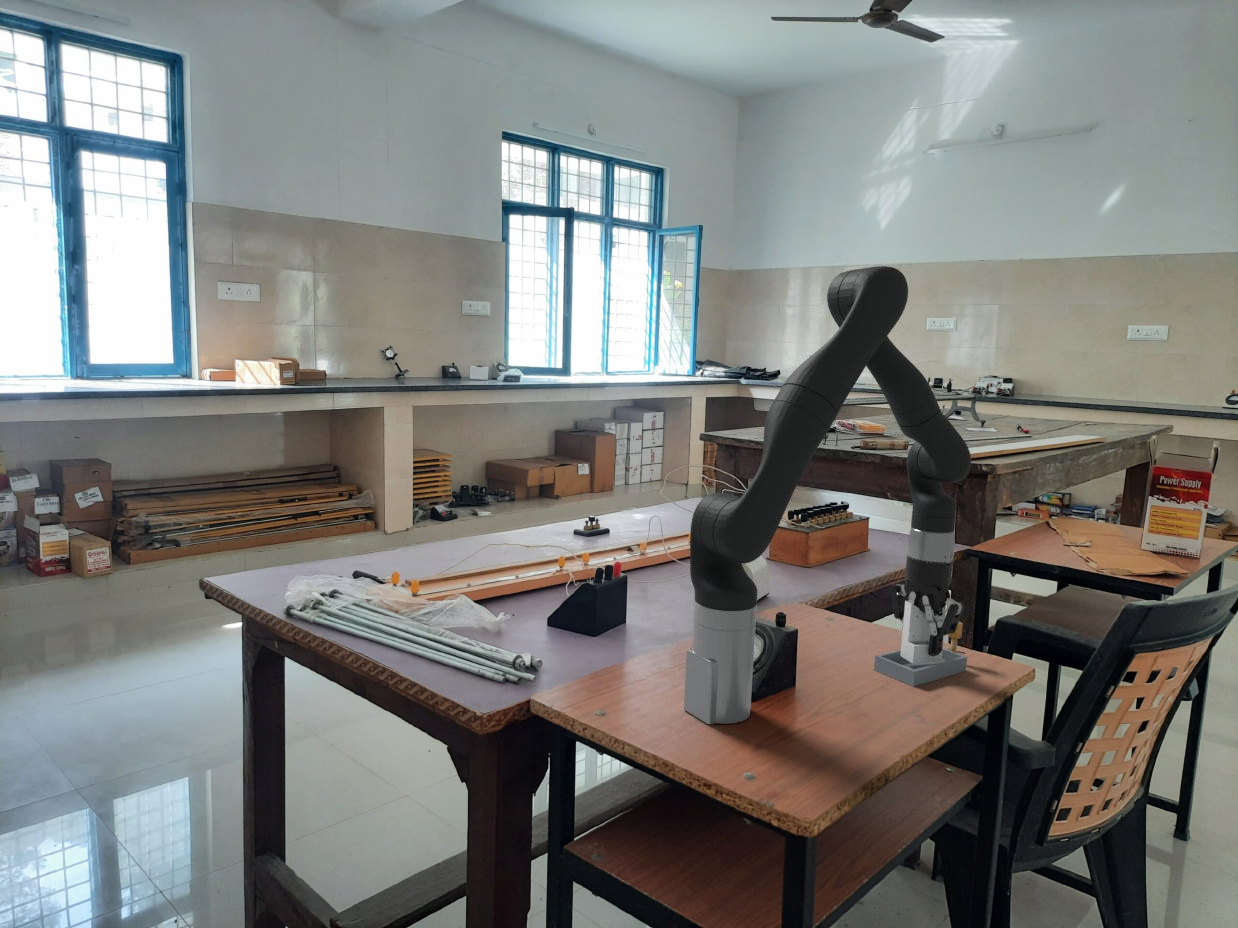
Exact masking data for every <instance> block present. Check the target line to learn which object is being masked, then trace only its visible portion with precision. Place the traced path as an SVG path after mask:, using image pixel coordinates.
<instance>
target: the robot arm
mask: <svg viewBox="0 0 1238 928" xmlns="http://www.w3.org/2000/svg"><path fill="white" fill-rule="evenodd" d="M908 297H909V286H908V281H907V278H906V276H905V275H904V274H903V272H902V271H900V270H899V269H898V268H896V267H892V266H886V265H883V266H882V265H881V266H880V265H879V266H878V265H877V266H871V267H863V268H857V269H851V270H846V271H843V272H840V273H839V274H837V275H836V276H835V277H834V278H833V279H832V281H831V282H830V283H829V286H828V290H827V294H826V302H827V307H828V310H829V313H830V315H831V317H832V319H833V321H834V322H835V324H836V325H837V326H838V330H837V331H836V332H835V333H834V334H833V336H832V337H830V339H829V340H827V342H826V343H824V344H823V346H821V347H819V349H818V350H816V351H814V353H812V354H811V355H810V356H809V357H808V358H807V359H806V360H804V361H803V363H801V364H800V365H799V366H797V368H796V369H794V370H793V372H791V374H790V375H789V377H788V378H787V379H786V380H785V381H784V383H783V385H782V387H781V388H780V389H779V392H778V393H777V394H776V397H775V398H774V400H773V401H772V403H771V405H770V407H769V409H768V411H767V414H766V417H765V420H764V426H763V427H764V430H763V447H762V449H763V450H762V457H761V460H760V464H759V467H758V469H757V471H756V473H755V475H754V477H753V478H752V480H751V482H750V484H749V485H748V486H747V489H746V490H745V492H744V493H743V494H742V496H737V495H734V494H730V493H726V492H713V493H708V495H705V496H704V497H703V498H702V499H701V500H700V501H699V502H698V504H697V505H696V507H695V509H694V511H693V514H692V517H691V524H690V533H689V535H690V537H689V539H690V540H689V543H690V544H689V557H690V558H689V560H690V562H689V571H690V572H689V573H690V579H691V583H692V586H693V589H694V605H693V606H694V607H693V608H694V609H693V621H692V622H693V624H692V641H691V642H692V643H691V644H692V645H691V647H692V648H690V649H687V650H686V657H685V658H686V659H685V677H684V681H685V682H684V698H683V699H684V700H683V702H684V703H683V710H684V711H685V712H688V713H689V714H691V715H693V716H694V717H695V718H697V719H699V720H700V721H702V722H704V723H705V724H707V725H714V724H724V725H725V724H726V725H727V724H728V725H729V724H737V723H741V722H743V721H745V720H747V719H748V718H749V717H750V715H751V702H752V691H753V690H752V689H753V688H752V686H753V675H754V674H753V673H754V671H753V670H754V654H755V637H756V621H757V607H758V606H757V605H758V603H757V602H758V588H757V585H756V584H755V582H754V581H753V580H752V579H751V577H750V576H749V575H748V573H747V572H746V570H745V569H744V566H743V564H750V563H752V562H755V561H756V560H758V559H759V558H760V557H761V556H762V555H763V553H765V551H766V550H767V548H768V547H769V545H770V544H771V542H772V540H773V538H774V536H775V534H776V533H777V530H778V528H779V526H780V524H781V521H782V519H783V516H784V515H785V512H786V510H787V508H788V505H789V503H790V501H791V499H792V497H793V495H794V492H795V490H796V488H797V486H798V484H799V482H800V480H802V479H801V478H802V477H803V475H804V473H805V472H806V469H807V467H808V466H809V464H810V462H811V460H812V459H813V456H814V455H815V453H816V451H817V449H818V448H819V446H820V445H821V443H822V441H823V440H824V438H825V437H826V435H827V434H828V431H829V430H830V428H831V427H832V425H833V423H834V421H835V420H836V418H837V416H838V415H839V412H840V410H841V409H842V407H843V406H844V403H845V401H846V399H847V398H848V396H849V394H850V393H851V391H852V389H853V388H854V386H855V385H856V383H857V381H859V378H860V377H861V375H862V374H863V371H864V370H865V368H867V369H868V371H869V372H870V374H871V376H872V377H873V379H874V380H875V382H876V384H877V385H878V386H879V388H880V390H881V392H882V394H883V396H884V397H885V400H886V401H887V404H888V405H889V408H890V410H891V412H892V416H893V417H894V418H895V420H896V423H897V424H898V427H899V429H900V431H901V432H902V434H903V435H905V436H906V437H907V438H908V439H911V440H913V441H914V442H913V443H912V444H911V446H910V449H909V450H908V453H907V456H906V457H907V458H906V472H907V477H908V484H909V489H910V495H911V499H912V511H911V523H910V530H909V533H908V534H909V535H908V539H907V547H906V549H907V550H906V562H905V563H906V564H905V571H904V577H905V579H906V581H905V583H897V584H892V585H890V596H891V601H892V602H891V603H892V610H893V616H894V618H895V619H896V620H899V621H901V623H902V624H903V621H904V610H905V600H906V601H908V602H909V603H911V604H913V605H915V606H916V607H918V608H919V609H920V611H922V612H923V613H925V614H926V617H927V621H928V622H929V623H930V629H931V635H930V639H929V650H928V654H929V655H930V656H937V655H939V653H941V651H942V646H943V647H944V636H947V635H948V634H953V633H955V631H956V628H957V626H958V623H959V622H961V621H960V620H961V618H962V615H963V613H964V611H965V608H966V607H965V604H964V602H961V601H960V602H957V601H956V600H954V599H953V598H952V597H951V593H950V586H951V583H952V578H953V568H954V556H955V548H956V547H955V528H956V517H957V502H956V499H954V497H952V496H950V495H949V494H948V493H946V492H945V491H944V490H943V485H942V483H947V484H951V483H952V484H956V483H958V482H961V481H963V480H964V479H965V478H966V477H967V476H968V474H969V472H970V470H971V467H972V455H971V451H970V449H969V446H968V444H967V443H966V441H965V440H964V438H963V437H962V435H961V434H960V433H959V432H958V431H957V429H956V428H955V427H954V426H953V424H952V423H951V422H950V421H949V419H948V418H947V417H946V416H945V415H944V413H943V412H942V409H941V407H940V405H939V402H938V400H937V399H936V396H935V394H934V391H933V389H932V387H931V386H930V383H929V381H928V380H927V379H926V377H925V376H924V375H923V373H922V372H921V371H920V370H919V369H918V367H916V366H915V364H913V363H912V362H911V361H910V360H909V358H907V357H906V356H905V354H903V352H902V351H900V349H898V348H897V347H896V345H895V344H894V343H893V342H892V341H891V339H890V338H889V336H888V335H890V333H891V332H892V330H893V328H894V327H895V326H896V324H897V323H898V322H899V320H900V318H901V317H902V315H903V313H904V312H905V309H906V305H907V303H908ZM945 607H946V609H945ZM945 612H946V613H945Z"/></svg>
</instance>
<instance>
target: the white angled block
mask: <svg viewBox="0 0 1238 928" xmlns="http://www.w3.org/2000/svg"><path fill="white" fill-rule="evenodd" d="M906 600H907V599H906ZM906 600H905V610H904V621H903V623H902V635H901V642H900V643H901V644H900V645H901V646H900V649H901V654H900V656H901V657H903V658H904V659H906V660H908V661H909V662H911V663H927V662H941V661H942V651H943V648H944V645H943V646H942V651H941V653H939V655H937V656H930V655H929V654H928V650H929V639H930V635H931V629H930V623H929V622H928V621H927V617H926V614H925V613H923V612H922V611H920V609H919V608H918V607H916V606H915V605H913V604H911V603H909V602H908V600H907V601H906Z"/></svg>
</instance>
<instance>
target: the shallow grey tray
mask: <svg viewBox="0 0 1238 928" xmlns="http://www.w3.org/2000/svg"><path fill="white" fill-rule="evenodd" d="M962 634H963V622H961V621H959V623H958V626H957V628H956V631H955V633H953V634H948V637H949V638H951V642H950V649H946V648H944V647H943V651H942V661H941V662H927V663H911V662H909V661H908V660H906V659H904V658H903V657H901V656H900V654H901V648H900V649H897V650H892V651H889V652H885V653H881V654H877V655H875V656H874V665H873V666H874V669H873V670H874V671H876V672H878V673H880V674H882V675H885V676H887V677H890V678H892V679H894V680H897V681H898V682H901V683H903V684H906V685H909V686H911V687H916V686H920V685H923V684H927V683H930V682H934V681H937V680H941V679H944V678H947V677H950V676H954V675H957V674H961V673H965V672H966V671H967V663H968V656H966V655H963V654H960V653H958V652H957V649H958V647H957V646H958V639H962Z"/></svg>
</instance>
